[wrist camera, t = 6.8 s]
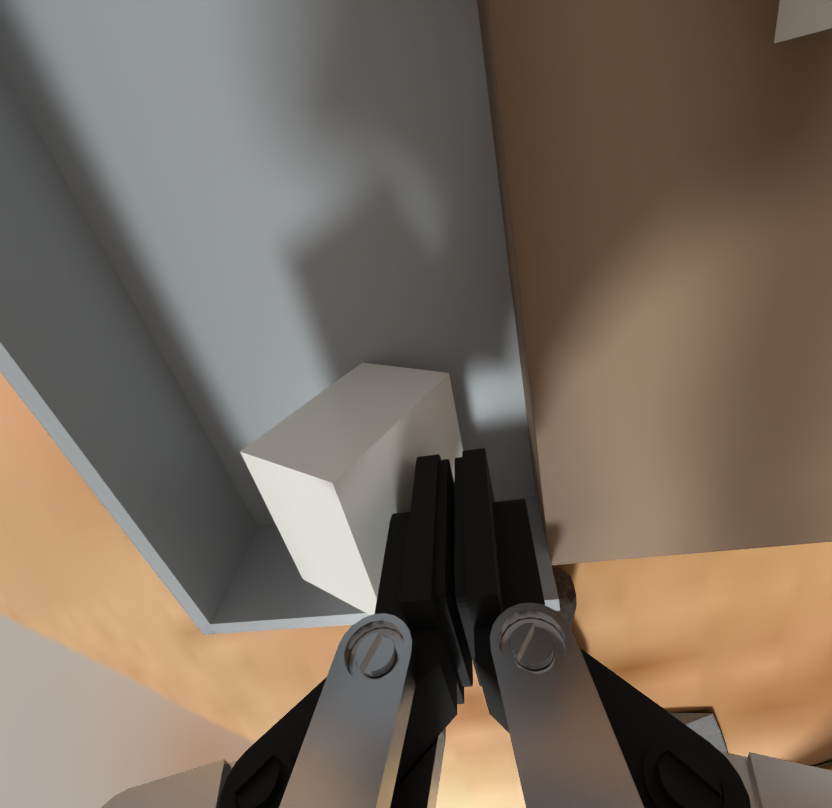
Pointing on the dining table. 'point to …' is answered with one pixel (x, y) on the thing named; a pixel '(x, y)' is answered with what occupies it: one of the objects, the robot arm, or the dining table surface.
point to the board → (668, 269)
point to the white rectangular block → (802, 18)
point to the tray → (246, 258)
